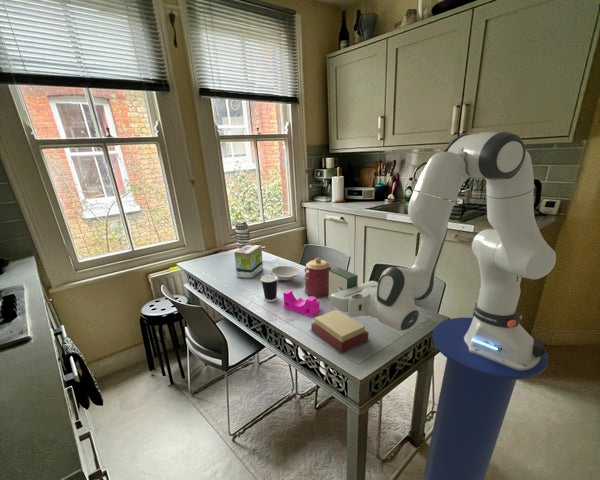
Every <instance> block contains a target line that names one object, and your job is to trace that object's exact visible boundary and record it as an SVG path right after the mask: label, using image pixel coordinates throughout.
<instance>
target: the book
mask: <svg viewBox="0 0 600 480" xmlns="http://www.w3.org/2000/svg"><path fill="white" fill-rule="evenodd" d="M331 269H332V270H329V294H328V300H329V301H330V299H331V295H332V294H334V293H336V292H335V288H336V287H340V288H341V290H346V289H349V288H352V287H355V286H357V284H358V281H359V280H358V279H359V278H358V277H359V275H357V274H356V273H353V272H350V271H348V270H346V269H343V268H342V267H335V268H331Z"/></svg>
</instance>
